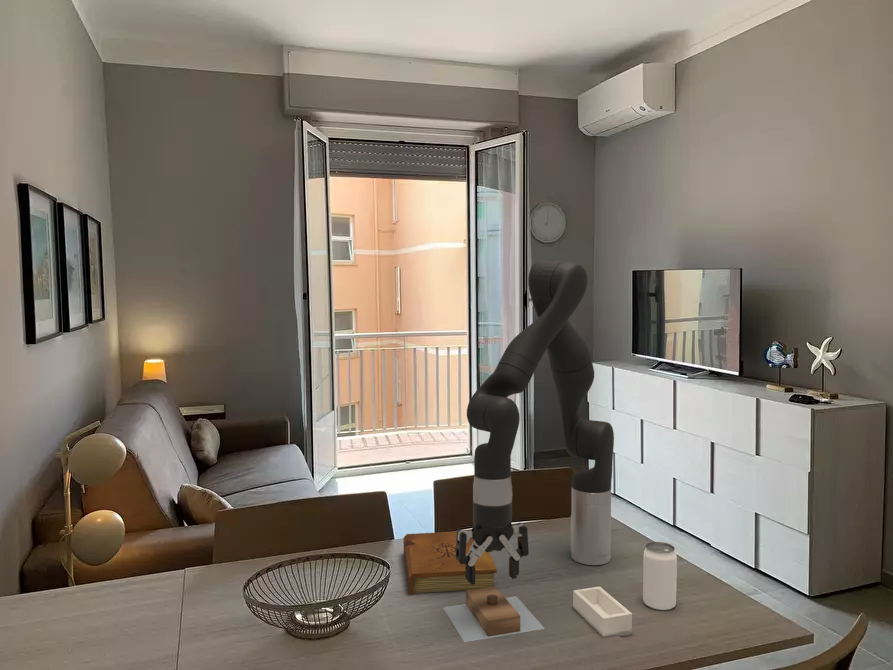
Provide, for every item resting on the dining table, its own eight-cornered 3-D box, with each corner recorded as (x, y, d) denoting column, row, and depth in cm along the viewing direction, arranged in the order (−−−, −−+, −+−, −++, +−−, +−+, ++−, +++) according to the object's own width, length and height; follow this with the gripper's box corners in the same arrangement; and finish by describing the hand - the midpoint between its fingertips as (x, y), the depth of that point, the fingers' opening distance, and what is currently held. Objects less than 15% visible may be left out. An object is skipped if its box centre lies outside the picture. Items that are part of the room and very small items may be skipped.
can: (677, 612, 135) (678, 554, 134) (644, 609, 136) (645, 551, 136) (673, 597, 142) (674, 541, 141) (641, 595, 143) (642, 539, 142)
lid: (466, 605, 138) (466, 585, 138) (495, 600, 140) (495, 580, 140) (488, 636, 126) (488, 614, 125) (520, 631, 127) (520, 609, 127)
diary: (403, 557, 166) (403, 534, 165) (479, 553, 168) (479, 530, 167) (409, 599, 143) (409, 572, 142) (496, 594, 145) (496, 567, 144)
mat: (442, 609, 137) (442, 607, 137) (516, 598, 142) (516, 596, 142) (464, 644, 124) (464, 642, 124) (544, 631, 128) (544, 628, 128)
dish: (573, 609, 137) (573, 590, 136) (599, 605, 138) (599, 586, 138) (603, 639, 125) (603, 618, 125) (631, 634, 127) (632, 613, 127)
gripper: (518, 489, 136) (518, 568, 137) (451, 496, 132) (451, 577, 133) (534, 500, 129) (533, 583, 130) (463, 507, 125) (463, 593, 126)
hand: (492, 580), depth 132 cm, fingers open, 8 cm apart
